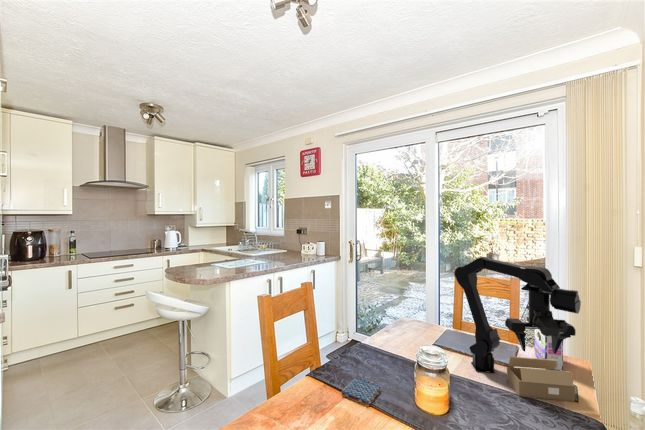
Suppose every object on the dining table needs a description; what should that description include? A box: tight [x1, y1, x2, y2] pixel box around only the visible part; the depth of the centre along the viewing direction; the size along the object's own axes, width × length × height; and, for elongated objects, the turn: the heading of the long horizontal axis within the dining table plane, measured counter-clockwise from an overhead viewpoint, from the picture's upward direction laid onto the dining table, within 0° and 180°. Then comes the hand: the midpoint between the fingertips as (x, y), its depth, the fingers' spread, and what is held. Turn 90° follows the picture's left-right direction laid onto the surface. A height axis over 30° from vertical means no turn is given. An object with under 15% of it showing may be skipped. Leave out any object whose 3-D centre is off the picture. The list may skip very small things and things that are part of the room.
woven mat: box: [341, 377, 382, 407], centre depth 99 cm, size 10×11×2 cm
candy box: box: [534, 329, 564, 371], centre depth 118 cm, size 14×6×16 cm, turn 159°
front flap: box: [519, 367, 575, 386], centre depth 95 cm, size 14×4×1 cm
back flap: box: [508, 356, 557, 370], centre depth 104 cm, size 14×4×1 cm
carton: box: [506, 366, 576, 403], centre depth 100 cm, size 16×9×5 cm, turn 80°
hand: (538, 352), depth 100 cm, fingers open, 9 cm apart
